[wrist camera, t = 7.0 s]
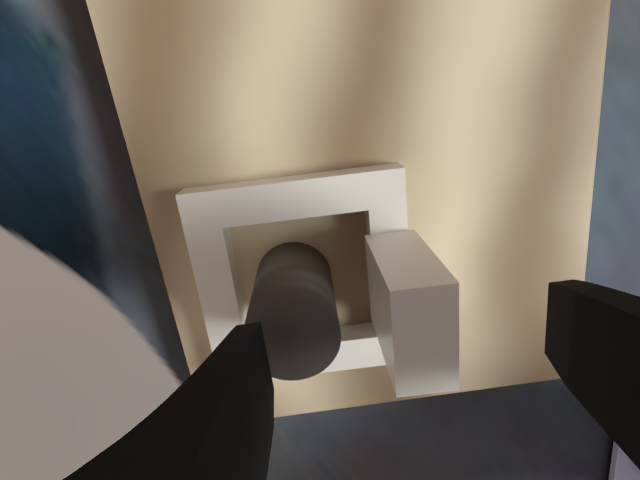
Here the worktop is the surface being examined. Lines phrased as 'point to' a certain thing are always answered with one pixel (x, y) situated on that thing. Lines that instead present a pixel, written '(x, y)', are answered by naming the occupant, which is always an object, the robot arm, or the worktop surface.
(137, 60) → the board
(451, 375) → the collar
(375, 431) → the worktop surface
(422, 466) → the worktop surface
